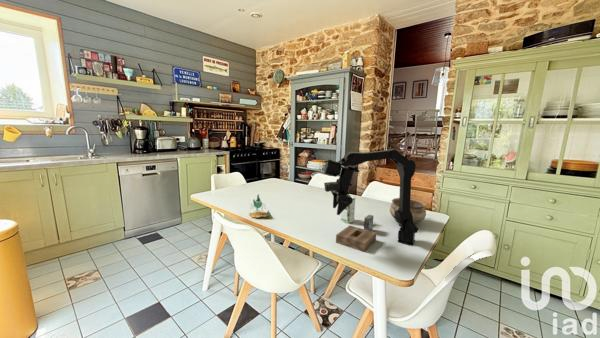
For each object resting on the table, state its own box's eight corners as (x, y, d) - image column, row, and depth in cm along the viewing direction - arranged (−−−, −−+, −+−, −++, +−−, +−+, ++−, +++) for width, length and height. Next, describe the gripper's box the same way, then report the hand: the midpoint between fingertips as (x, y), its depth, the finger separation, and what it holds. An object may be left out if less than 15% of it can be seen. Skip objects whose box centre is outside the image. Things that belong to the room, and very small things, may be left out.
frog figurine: (264, 222, 137) (261, 197, 135) (243, 218, 148) (241, 195, 146) (275, 217, 145) (273, 193, 143) (255, 214, 155) (252, 191, 154)
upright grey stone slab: (372, 229, 128) (373, 215, 126) (368, 233, 123) (369, 218, 122) (368, 228, 129) (368, 214, 128) (363, 232, 124) (364, 217, 123)
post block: (375, 240, 115) (376, 232, 115) (364, 251, 105) (364, 243, 104) (349, 232, 124) (349, 225, 123) (335, 242, 113) (336, 234, 112)
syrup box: (340, 220, 140) (341, 196, 138) (346, 218, 144) (347, 195, 141) (348, 223, 136) (349, 199, 133) (354, 221, 139) (355, 197, 137)
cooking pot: (418, 234, 122) (421, 211, 120) (382, 225, 134) (383, 204, 132) (429, 220, 141) (431, 200, 139) (396, 213, 153) (398, 194, 151)
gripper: (325, 171, 117) (316, 201, 119) (332, 179, 98) (321, 214, 101) (346, 176, 118) (338, 206, 120) (357, 185, 99) (347, 220, 102)
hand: (335, 211), depth 111 cm, fingers open, 9 cm apart
